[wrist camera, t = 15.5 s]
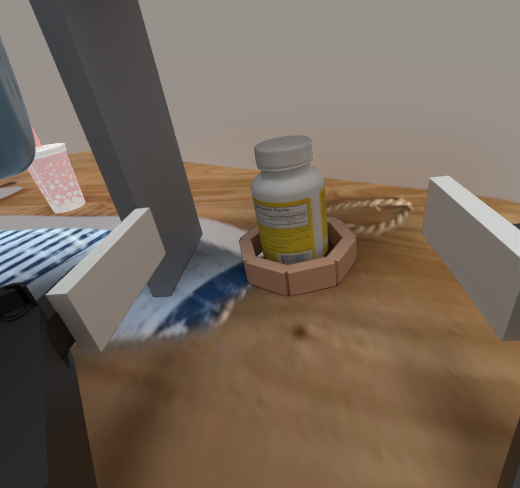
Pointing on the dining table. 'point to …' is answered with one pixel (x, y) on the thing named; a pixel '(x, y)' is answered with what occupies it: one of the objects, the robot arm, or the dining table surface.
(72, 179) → the beverage cup
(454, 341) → the dining table surface
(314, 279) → the socket
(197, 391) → the dining table surface
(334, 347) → the dining table surface
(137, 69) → the grey l-shaped rod
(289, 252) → the supplement bottle
